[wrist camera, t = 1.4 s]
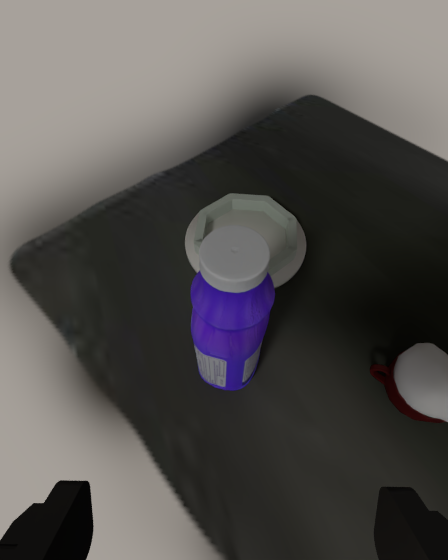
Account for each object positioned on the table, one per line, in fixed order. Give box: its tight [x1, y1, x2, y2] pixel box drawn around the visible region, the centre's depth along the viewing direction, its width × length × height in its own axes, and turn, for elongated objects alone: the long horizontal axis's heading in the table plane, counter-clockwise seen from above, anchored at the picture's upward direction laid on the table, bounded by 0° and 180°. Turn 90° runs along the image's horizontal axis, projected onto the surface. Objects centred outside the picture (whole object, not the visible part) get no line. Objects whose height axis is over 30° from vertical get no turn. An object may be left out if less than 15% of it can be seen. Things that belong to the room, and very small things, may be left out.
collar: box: [185, 193, 306, 289], centre depth 40 cm, size 15×15×2 cm
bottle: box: [191, 225, 275, 391], centre depth 25 cm, size 7×6×17 cm
